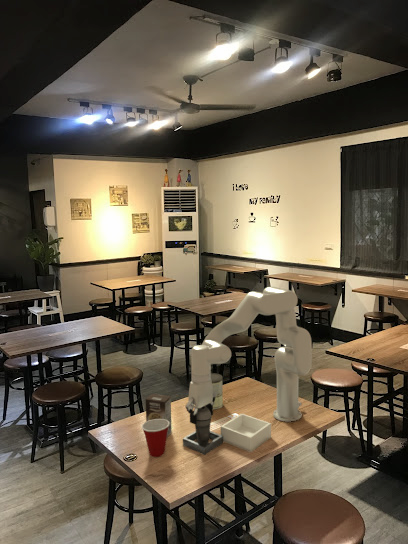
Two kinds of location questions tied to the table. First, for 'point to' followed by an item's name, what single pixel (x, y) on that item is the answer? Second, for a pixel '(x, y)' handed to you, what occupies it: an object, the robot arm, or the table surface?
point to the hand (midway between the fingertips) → (201, 418)
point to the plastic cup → (156, 436)
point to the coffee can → (217, 390)
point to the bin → (246, 432)
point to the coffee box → (159, 409)
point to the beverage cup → (203, 425)
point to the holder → (190, 443)
